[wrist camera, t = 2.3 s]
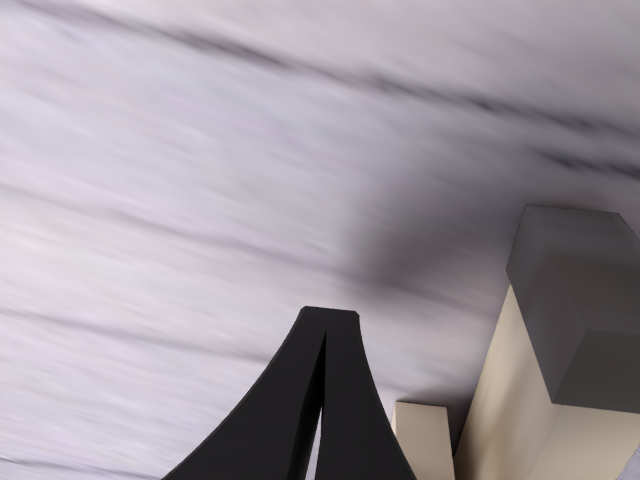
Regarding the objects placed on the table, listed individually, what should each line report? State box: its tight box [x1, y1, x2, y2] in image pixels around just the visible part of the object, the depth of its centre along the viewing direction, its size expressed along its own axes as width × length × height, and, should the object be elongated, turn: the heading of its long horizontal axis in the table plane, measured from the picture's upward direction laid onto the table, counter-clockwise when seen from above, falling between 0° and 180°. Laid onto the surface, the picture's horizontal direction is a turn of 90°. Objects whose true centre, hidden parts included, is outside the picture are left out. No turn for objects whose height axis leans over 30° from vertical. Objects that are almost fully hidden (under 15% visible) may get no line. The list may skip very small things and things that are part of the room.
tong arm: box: [453, 205, 640, 480], centre depth 12 cm, size 12×2×4 cm, turn 178°
